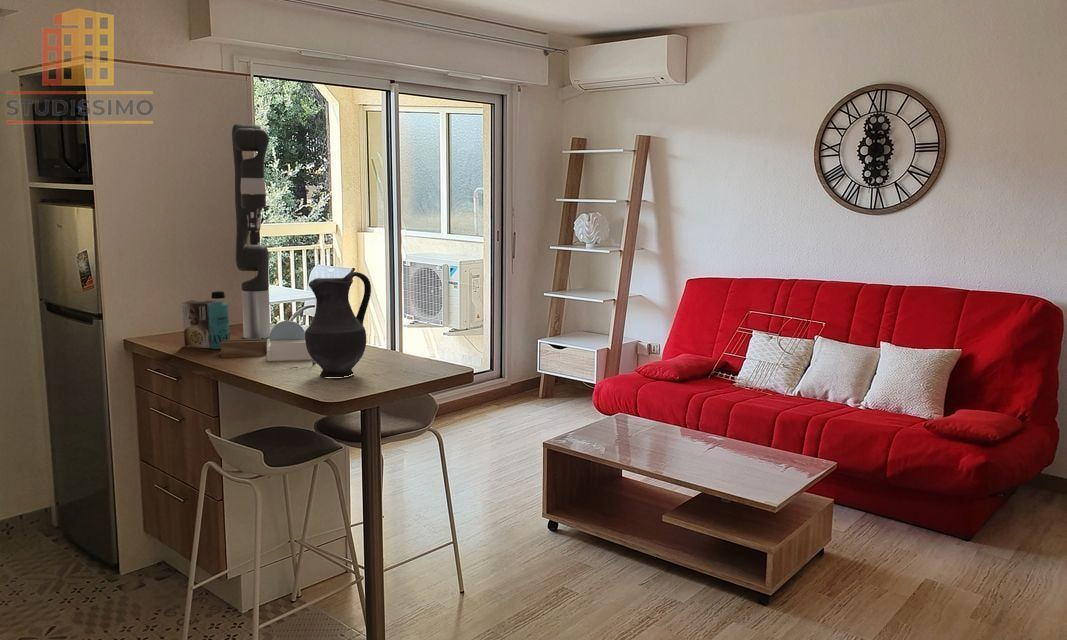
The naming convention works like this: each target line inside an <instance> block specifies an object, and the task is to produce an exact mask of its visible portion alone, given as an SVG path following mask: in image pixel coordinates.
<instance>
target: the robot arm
mask: <svg viewBox="0 0 1067 640" xmlns="http://www.w3.org/2000/svg"><path fill="white" fill-rule="evenodd" d="M231 141H232V142H231V143H232V155H233V164H234V204H235V205H234V207H235V222H236V223H235V224H236V226H235V227H236V237H235V238H236V239H235V240H236V241H235V263H236V268H237V269H238V270H239V271H241V272H257V275H256V276H254V277H253V278H251V279H249V280H245V281H243V282H242V283H241V302H242V329H243V339H262V338H263V339H269V338H270V333H271V316H270V315H271V314H270V313H271V311H270V290H269V289H270V287H269V286H270V285H269V282H270V280H269V276H270V274H269V272H270V271H269V269H270V264H269V263H270V258H269V257H270V255H269V254H270V253H269V250H268V248H267V246H266V245H262V244H261V245H260V244H259V243H260V242H261V239H260V238H261V235H260V233H261V226H262V214H261V213H262V211H263V209H265V208H266V207H267V195H266V194H267V193H266V192H267V191H266V182H265V159H266V154H267V150H268V146H269V141H270V137H269V133H268V132H267V130H266V129H264V127H263V126H261V125H259V124H252V123H251V124H248V123H246V124H245V123H235V124H233V126H232V129H231ZM243 152H257V154H256V155H255V156H253V157H250V158H244V154H243ZM248 237H249V238H248ZM248 239H249V241H250V242H249V243H250V244H249V245H248ZM258 244H259V245H258Z"/></svg>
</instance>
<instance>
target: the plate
mask: <svg viewBox="0 0 1067 640" xmlns="http://www.w3.org/2000/svg"><path fill="white" fill-rule="evenodd" d="M305 331H306V330H305V328H304V327H303V326H302V325H301V324H299V323H298V322H297V321H294V320H281V321H279V322H277V323H276V324H275V325H274V326H273V327H272V329H270V337H269V343H271V341H282V340H305Z"/></svg>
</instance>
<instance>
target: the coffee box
mask: <svg viewBox="0 0 1067 640" xmlns="http://www.w3.org/2000/svg"><path fill="white" fill-rule="evenodd" d="M214 301H215V300H200V299H199V300H197V299H194V300H193V299H191V300H186V301H184V302H182V303H181V305H182V306H181V308H182V322H183V335H184V337H183V338H184V347H185V348H209V349H211V348H210V346H209V345H210V344H209V343H210V339H209V307H208V305H209V304H210V303H211V302H214Z"/></svg>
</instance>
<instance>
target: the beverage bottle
mask: <svg viewBox="0 0 1067 640" xmlns="http://www.w3.org/2000/svg"><path fill="white" fill-rule="evenodd" d="M225 298H226V295H225V292H224V291H222V290H221V291H218V290H217V291H212V292H211V298H210V299H214V300H213V301H214V302H211V303H210V304H209V305H208V307H209V339H210V343H209V344H210V345H209V346H210V348H209V349H217V350H218V349H219V350H221V342H222V340H230V337H231V335H230V319H229V318H230V317H229V304H228V303H227V302H226V301H224V300H223V301H222V300H220V299H225ZM215 299H217V300H215Z"/></svg>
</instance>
